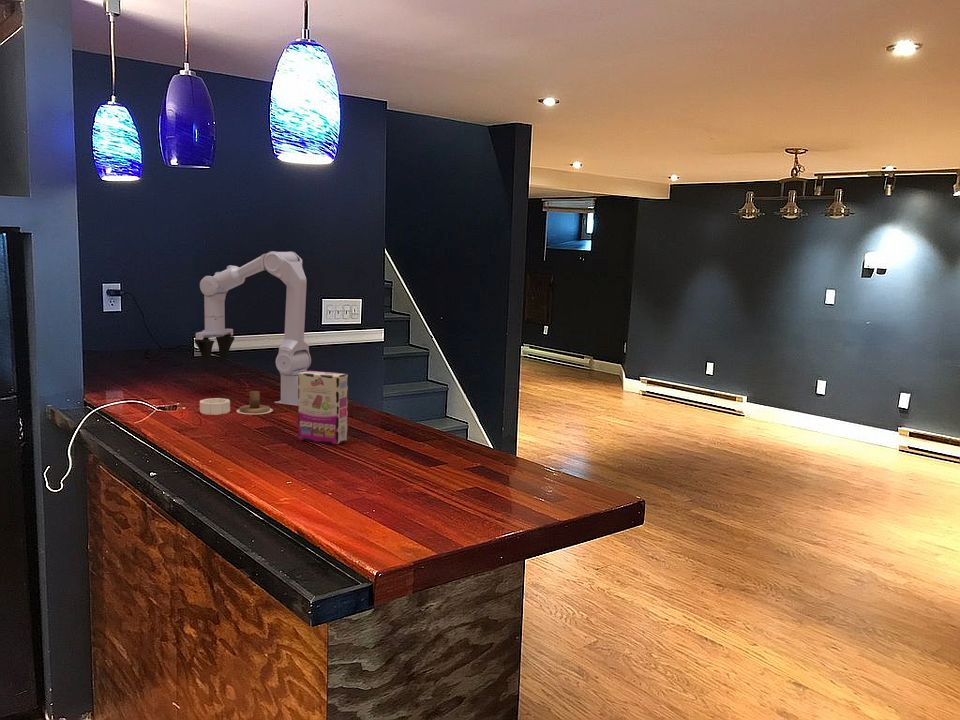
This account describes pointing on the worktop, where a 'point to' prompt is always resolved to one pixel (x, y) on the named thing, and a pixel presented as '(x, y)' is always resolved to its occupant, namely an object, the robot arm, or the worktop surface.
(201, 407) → the bowl
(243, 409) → the lid
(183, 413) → the worktop surface
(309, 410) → the candy bar box
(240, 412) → the coaster
